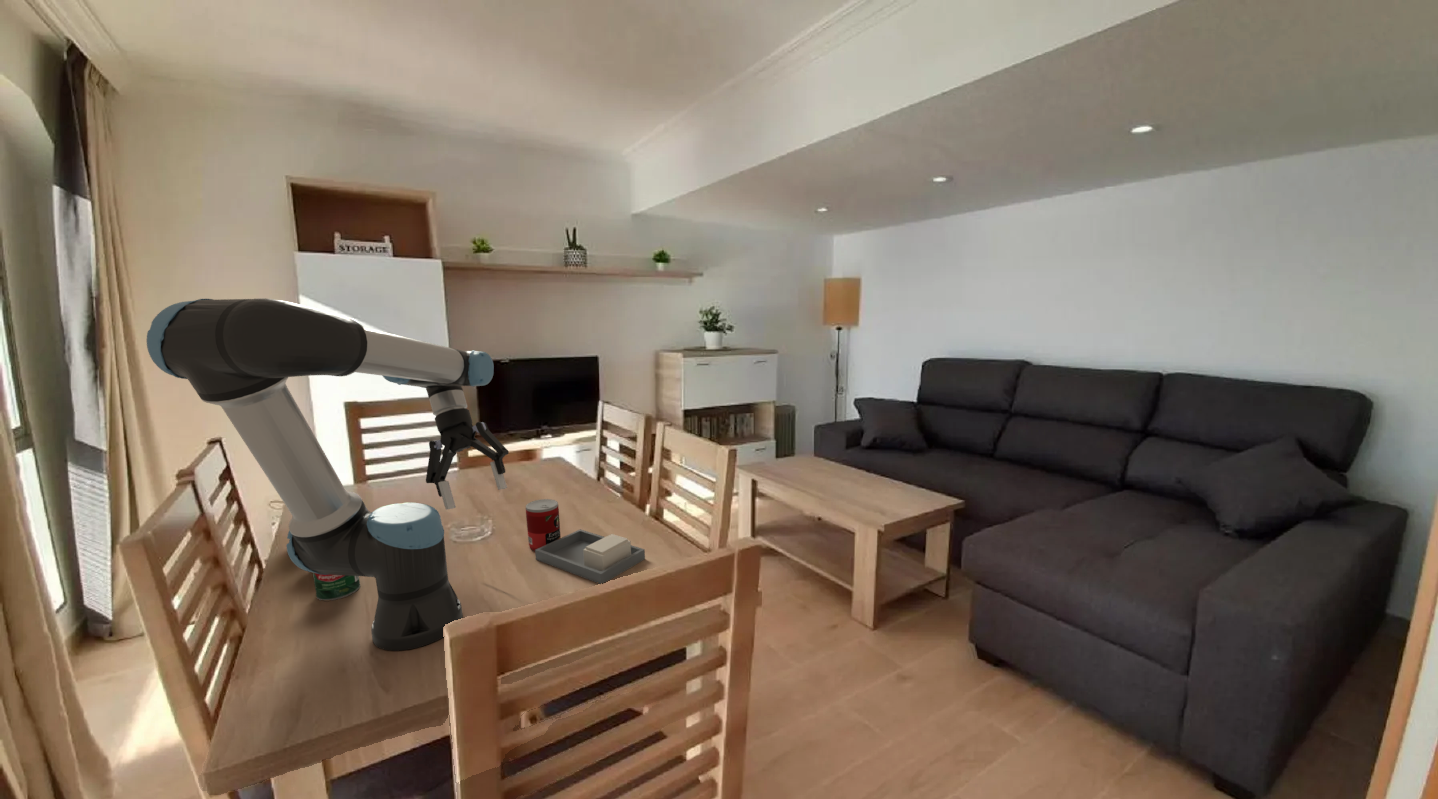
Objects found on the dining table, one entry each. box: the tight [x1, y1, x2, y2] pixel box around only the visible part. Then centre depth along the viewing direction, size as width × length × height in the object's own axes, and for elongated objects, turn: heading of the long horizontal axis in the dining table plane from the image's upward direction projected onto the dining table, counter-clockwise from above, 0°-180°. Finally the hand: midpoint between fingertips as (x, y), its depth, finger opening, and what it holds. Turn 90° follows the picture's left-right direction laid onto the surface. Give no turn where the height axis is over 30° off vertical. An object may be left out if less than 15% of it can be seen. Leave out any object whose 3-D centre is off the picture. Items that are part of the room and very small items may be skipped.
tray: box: [534, 529, 646, 585], centre depth 129 cm, size 22×14×3 cm, turn 56°
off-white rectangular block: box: [583, 533, 632, 571], centre depth 126 cm, size 6×9×6 cm, turn 146°
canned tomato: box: [312, 572, 361, 601], centre depth 117 cm, size 8×8×11 cm
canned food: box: [525, 498, 562, 552], centre depth 138 cm, size 8×8×11 cm
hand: (476, 498), depth 126 cm, fingers open, 13 cm apart
